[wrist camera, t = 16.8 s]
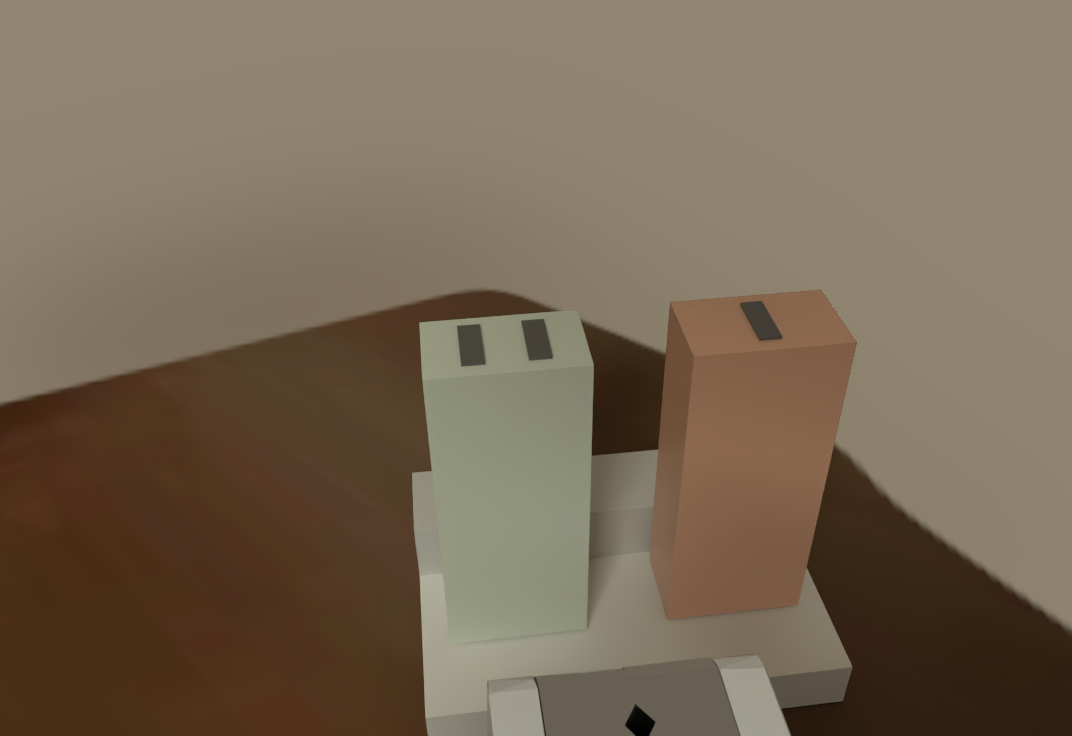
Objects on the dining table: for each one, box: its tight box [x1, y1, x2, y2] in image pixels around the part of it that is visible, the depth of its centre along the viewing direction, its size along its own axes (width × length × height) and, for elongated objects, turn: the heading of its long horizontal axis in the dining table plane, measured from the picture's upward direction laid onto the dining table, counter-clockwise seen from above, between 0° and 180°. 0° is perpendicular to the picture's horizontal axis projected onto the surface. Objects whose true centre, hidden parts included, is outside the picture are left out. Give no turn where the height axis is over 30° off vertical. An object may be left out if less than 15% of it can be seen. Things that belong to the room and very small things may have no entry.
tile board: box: [412, 450, 853, 736], centre depth 37 cm, size 15×10×4 cm, turn 97°
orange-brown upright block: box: [649, 290, 857, 620], centre depth 34 cm, size 5×3×12 cm, turn 97°
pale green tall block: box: [419, 310, 594, 644], centre depth 33 cm, size 5×3×12 cm, turn 97°
